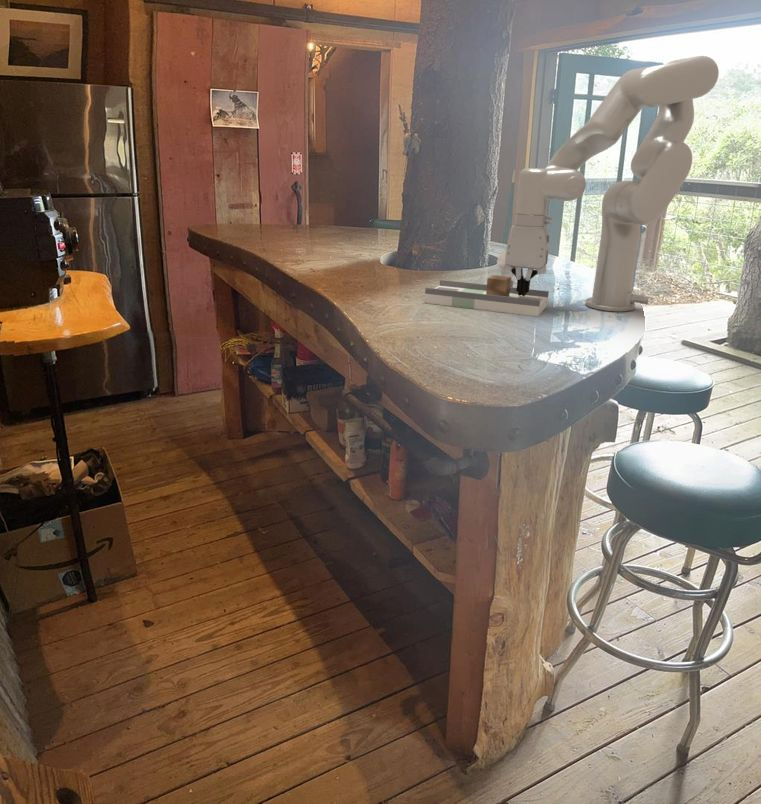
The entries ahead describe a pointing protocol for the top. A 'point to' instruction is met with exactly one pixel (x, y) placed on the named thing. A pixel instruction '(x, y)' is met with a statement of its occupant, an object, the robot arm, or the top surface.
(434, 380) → the top surface
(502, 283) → the walnut block
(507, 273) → the light bulb
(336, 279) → the top surface
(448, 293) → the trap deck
